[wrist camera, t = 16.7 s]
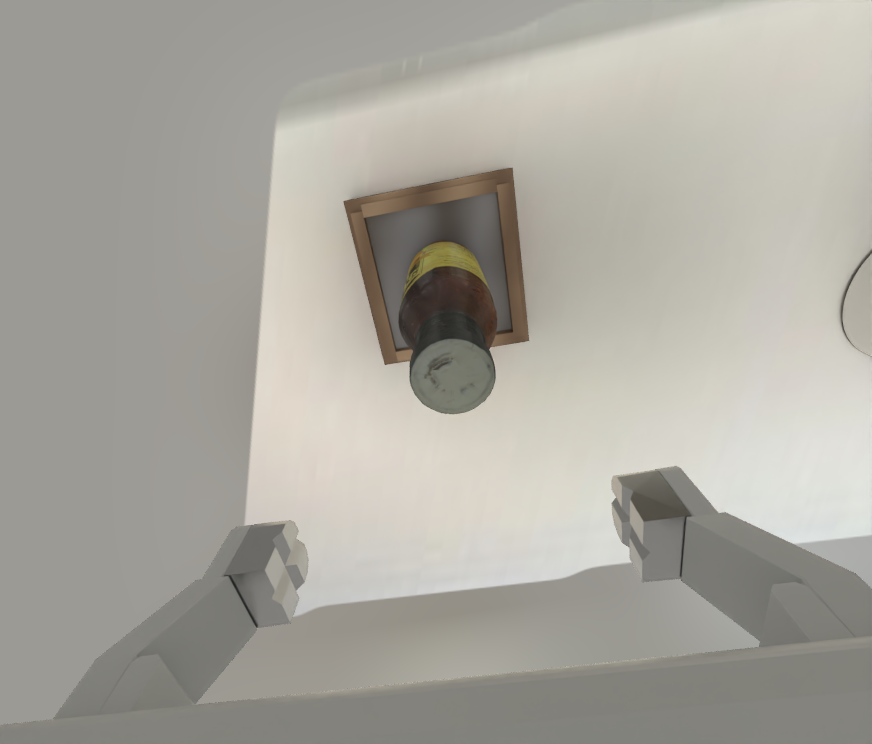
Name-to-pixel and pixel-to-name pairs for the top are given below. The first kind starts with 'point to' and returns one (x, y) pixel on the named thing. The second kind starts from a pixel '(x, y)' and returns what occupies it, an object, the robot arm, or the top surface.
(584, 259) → the top surface
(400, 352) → the tray
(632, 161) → the top surface
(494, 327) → the sauce bottle
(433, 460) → the top surface
